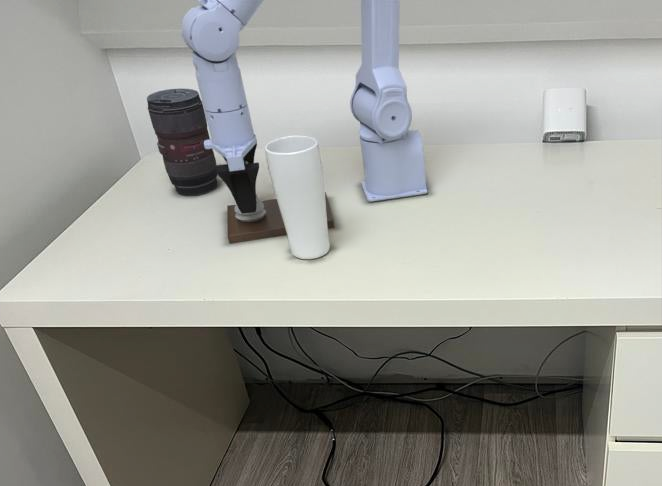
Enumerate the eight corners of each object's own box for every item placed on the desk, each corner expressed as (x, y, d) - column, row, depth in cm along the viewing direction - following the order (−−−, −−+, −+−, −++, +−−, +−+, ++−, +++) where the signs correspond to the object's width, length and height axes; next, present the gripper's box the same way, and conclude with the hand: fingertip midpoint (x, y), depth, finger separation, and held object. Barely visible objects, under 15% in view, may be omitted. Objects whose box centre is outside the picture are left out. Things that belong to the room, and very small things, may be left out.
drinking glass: (313, 267, 99) (292, 157, 90) (276, 256, 102) (252, 148, 93) (346, 246, 103) (329, 139, 94) (309, 237, 106) (289, 132, 97)
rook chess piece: (272, 211, 111) (261, 159, 106) (256, 224, 108) (244, 171, 103) (246, 209, 112) (234, 157, 107) (230, 221, 109) (216, 168, 104)
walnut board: (326, 198, 117) (325, 191, 116) (334, 227, 108) (333, 220, 108) (229, 212, 114) (227, 205, 114) (229, 243, 106) (227, 235, 105)
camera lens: (208, 199, 119) (183, 103, 110) (163, 197, 120) (134, 102, 111) (231, 179, 125) (208, 87, 116) (187, 177, 127) (161, 86, 118)
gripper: (196, 94, 105) (220, 186, 113) (193, 126, 94) (219, 226, 102) (247, 89, 106) (267, 180, 115) (250, 119, 95) (271, 218, 103)
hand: (248, 201), depth 108 cm, fingers open, 7 cm apart
